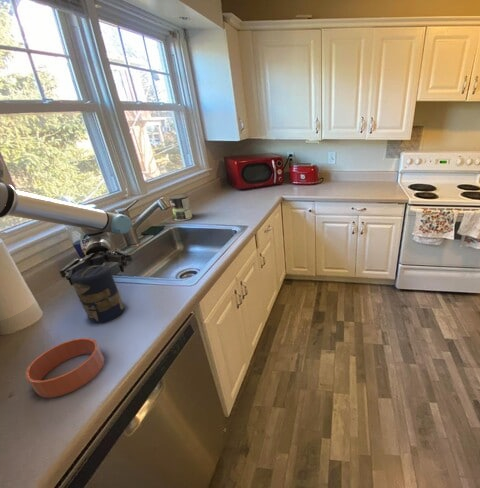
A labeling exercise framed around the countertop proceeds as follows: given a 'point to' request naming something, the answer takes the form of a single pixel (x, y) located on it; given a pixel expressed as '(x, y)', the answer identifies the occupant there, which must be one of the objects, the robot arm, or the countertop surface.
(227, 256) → the countertop surface
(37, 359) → the ring
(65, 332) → the countertop surface
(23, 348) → the countertop surface
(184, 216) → the coffee can
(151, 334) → the countertop surface
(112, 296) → the canister
